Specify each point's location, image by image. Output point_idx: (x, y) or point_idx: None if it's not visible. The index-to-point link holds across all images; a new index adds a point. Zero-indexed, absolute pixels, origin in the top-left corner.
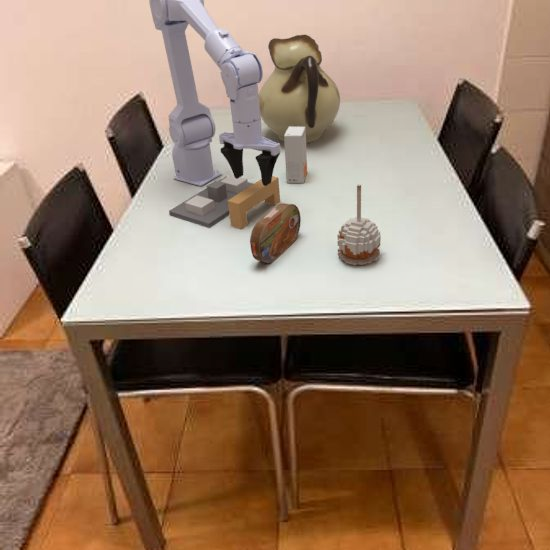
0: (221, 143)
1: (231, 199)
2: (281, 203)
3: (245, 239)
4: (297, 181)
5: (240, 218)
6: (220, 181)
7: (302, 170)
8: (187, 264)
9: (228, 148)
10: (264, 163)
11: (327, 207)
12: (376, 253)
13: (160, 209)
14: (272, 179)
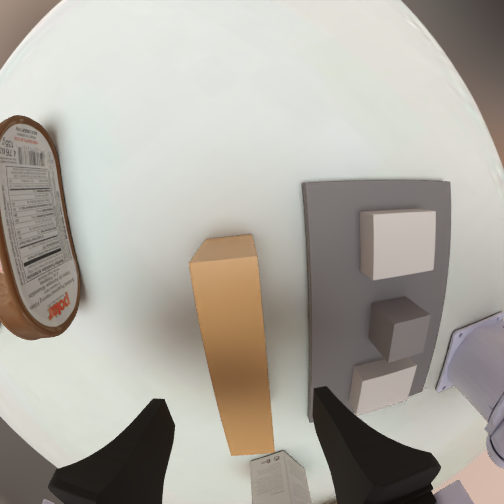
0: (450, 487)
1: (250, 275)
2: (21, 316)
3: (151, 200)
4: (261, 460)
5: (200, 247)
6: (415, 365)
7: (251, 484)
8: (200, 24)
9: (392, 498)
10: (68, 467)
11: (129, 418)
12: None
13: (470, 193)
14: (237, 444)
